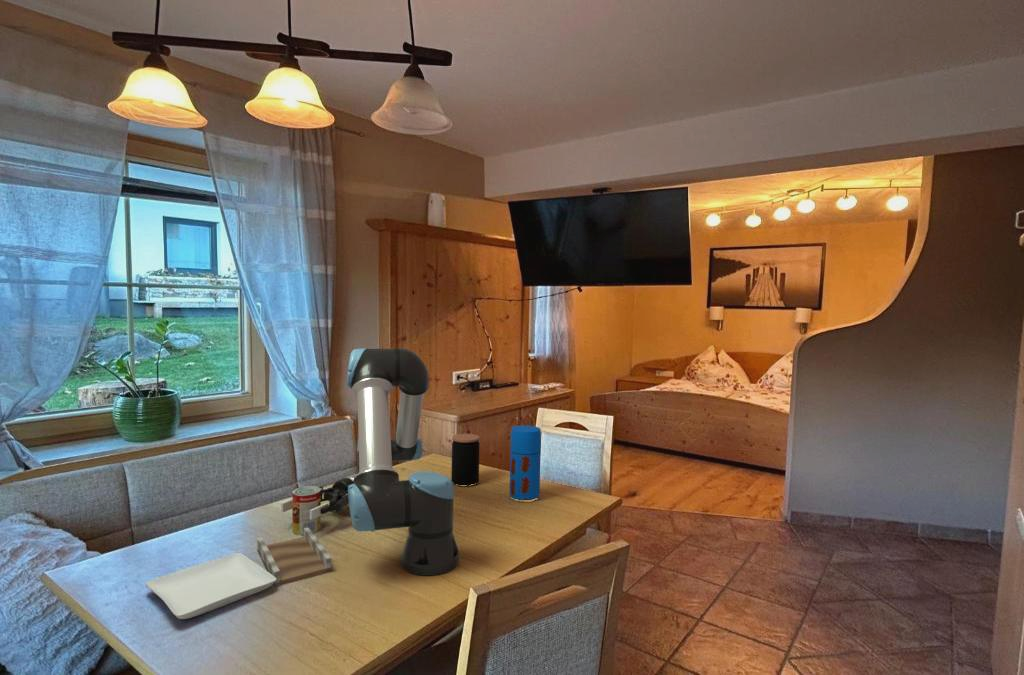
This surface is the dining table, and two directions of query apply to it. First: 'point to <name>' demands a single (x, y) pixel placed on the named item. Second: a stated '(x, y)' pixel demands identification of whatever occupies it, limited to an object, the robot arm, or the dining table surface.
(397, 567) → the dining table surface
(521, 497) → the thermos
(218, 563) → the salad plate
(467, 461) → the coffee jar
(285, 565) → the track
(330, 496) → the robot arm
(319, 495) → the canned food
